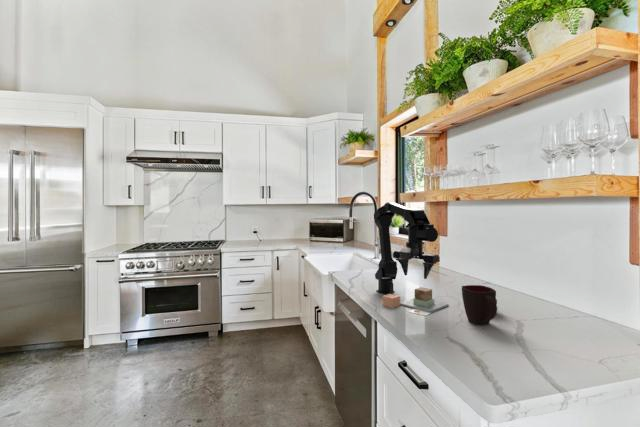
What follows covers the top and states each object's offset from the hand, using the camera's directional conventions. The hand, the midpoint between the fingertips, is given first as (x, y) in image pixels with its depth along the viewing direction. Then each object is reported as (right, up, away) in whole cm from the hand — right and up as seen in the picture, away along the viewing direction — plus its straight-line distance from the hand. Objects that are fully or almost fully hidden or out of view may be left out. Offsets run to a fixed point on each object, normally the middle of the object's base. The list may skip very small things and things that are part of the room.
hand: (415, 277), depth 133 cm
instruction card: (-1, -12, -9) cm, 15 cm away
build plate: (+4, -12, 0) cm, 12 cm away
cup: (+16, -12, -22) cm, 30 cm away
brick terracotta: (-10, -12, 0) cm, 16 cm away
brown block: (+3, -9, 0) cm, 10 cm away
